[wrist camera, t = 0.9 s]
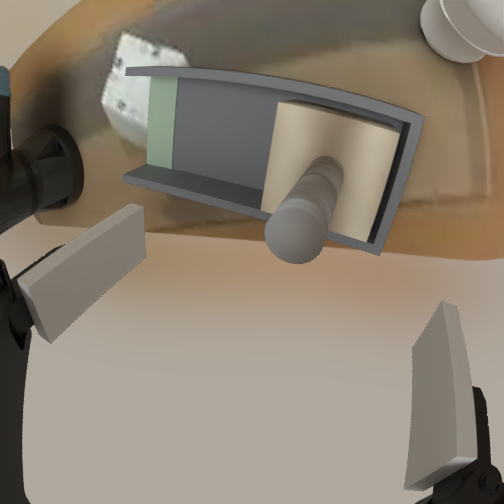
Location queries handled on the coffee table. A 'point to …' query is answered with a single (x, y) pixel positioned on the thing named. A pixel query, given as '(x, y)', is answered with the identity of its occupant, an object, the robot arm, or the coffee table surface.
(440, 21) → the water bottle
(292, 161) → the beige block with post
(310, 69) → the coffee table surface
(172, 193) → the bay
